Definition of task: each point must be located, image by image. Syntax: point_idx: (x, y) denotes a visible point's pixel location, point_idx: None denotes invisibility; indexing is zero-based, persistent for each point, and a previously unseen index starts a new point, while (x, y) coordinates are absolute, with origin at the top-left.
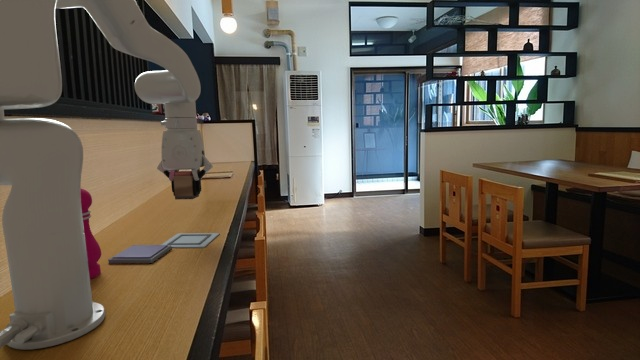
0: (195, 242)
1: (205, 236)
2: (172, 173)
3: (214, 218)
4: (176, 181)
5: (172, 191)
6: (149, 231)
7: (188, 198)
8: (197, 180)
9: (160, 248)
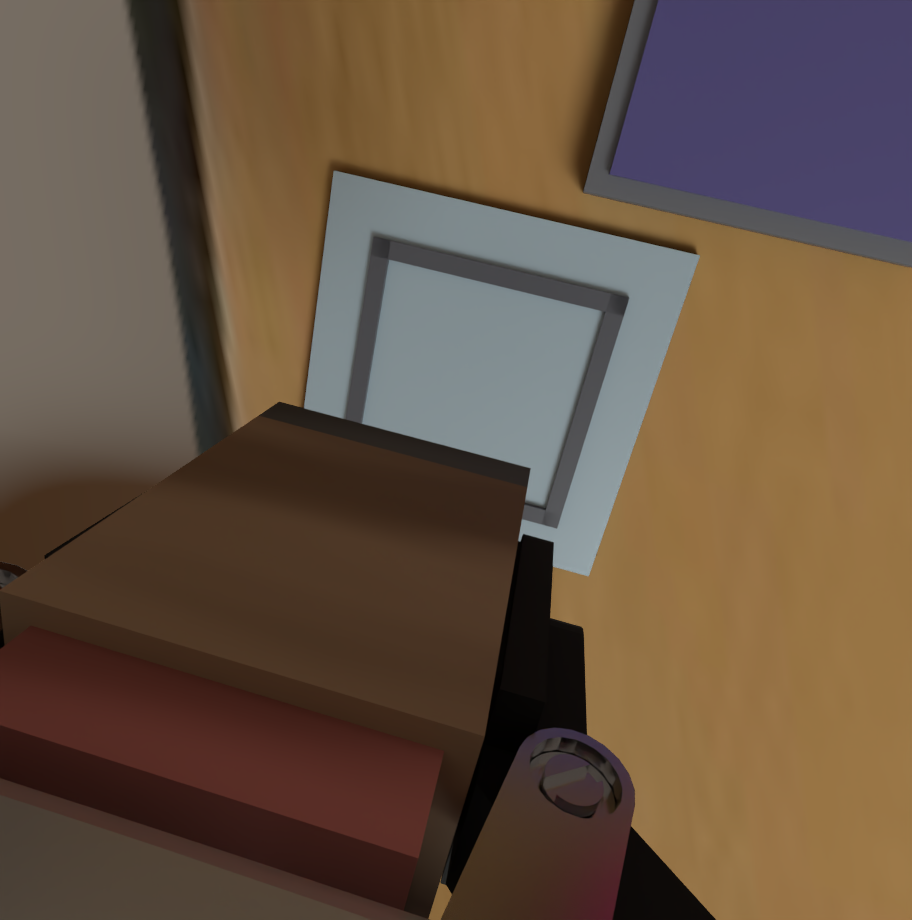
0: (418, 299)
1: None
2: (520, 893)
3: None
4: (437, 622)
5: (577, 627)
6: (814, 713)
7: (330, 422)
8: None
9: (657, 68)
